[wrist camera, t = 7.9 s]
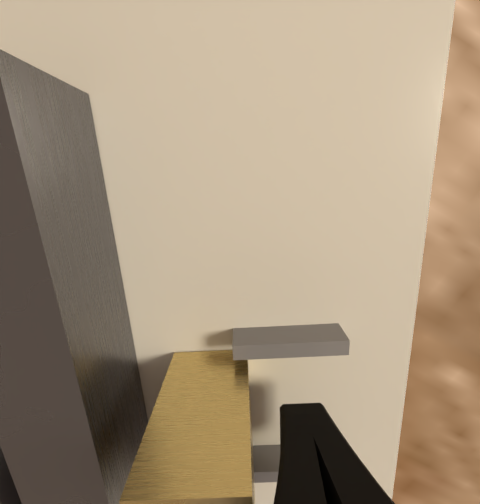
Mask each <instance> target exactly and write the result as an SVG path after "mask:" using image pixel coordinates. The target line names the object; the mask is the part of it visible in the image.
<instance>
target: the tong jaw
mask: <svg viewBox="0 0 480 504" xmlns="http://www.w3.org/2000/svg"><path fill="white" fill-rule="evenodd" d="M147 425H148V418H147V413H146V407H145V402H144V396H143V391H142V385H141V380H140V374H139V369H138V363H137V358H136V352H135V347H134V341H133V336H132V330H131V324H130V319H129V313H128V308H127V302H126V297H125V291H124V286H123V280H122V275H121V269H120V264H119V258H118V253H117V247H116V242H115V236H114V231H113V225H112V220H111V214H110V209H109V203H108V198H107V192H106V187H105V181H104V175H103V170H102V164H101V159H100V153H99V148H98V142H97V137H96V131H95V126H94V120H93V115H92V109H91V104H90V98H89V94H88V93H86V92H84V91H82V90H80V89H78V88H76V87H74V86H72V85H70V84H68V83H66V82H64V81H62V80H60V79H58V78H56V77H54V76H52V75H50V74H48V73H46V72H44V71H42V70H40V69H38V68H36V67H34V66H32V65H30V64H28V63H26V62H24V61H23V60H21V59H19V58H17V57H15V56H13V55H11V54H9V53H7V52H5V51H3V50H1V49H0V447H1V449H2V452H3V455H4V458H5V460H6V463H7V466H8V468H9V471H10V474H11V476H12V479H13V482H14V484H15V487H16V490H17V492H18V495H19V498H20V500H21V503H22V504H120V503H119V500H120V498H121V495H122V492H123V490H124V487H125V484H126V481H127V479H128V476H129V473H130V471H131V468H132V465H133V463H134V460H135V457H136V454H137V452H138V449H139V446H140V444H141V441H142V438H143V436H144V433H145V430H146V427H147Z"/></svg>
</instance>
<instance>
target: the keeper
mask: <svg viewBox="0 0 480 504" xmlns="http://www.w3.org/2000/svg"><path fill="white" fill-rule="evenodd" d="M119 503H120V504H255V486H254V463H253V439H252V422H251V405H250V387H249V370H248V360H233V350H221V351H200V352H178V353H174V354H173V357H172V360H171V363H170V365H169V368H168V371H167V373H166V376H165V379H164V381H163V384H162V387H161V390H160V392H159V395H158V398H157V400H156V403H155V406H154V408H153V411H152V414H151V417H150V419H149V422H148V425H147V427H146V430H145V433H144V436H143V438H142V441H141V444H140V446H139V449H138V452H137V454H136V457H135V460H134V463H133V465H132V468H131V471H130V473H129V476H128V479H127V481H126V484H125V487H124V490H123V492H122V495H121V498H120V500H119Z"/></svg>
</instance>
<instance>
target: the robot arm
mask: <svg viewBox="0 0 480 504" xmlns="http://www.w3.org/2000/svg"><path fill="white" fill-rule="evenodd" d="M274 504H395V503H394V502H393V501H392V500H391V498H390V497H389V496H388V495H387V494H386V492H385V491H384V490H383V488H382V487H381V486H380V485H379V483H378V482H377V481H376V480H375V478H374V477H373V476H372V474H371V473H370V472H369V470H368V469H367V468H366V466H365V465H364V464H363V462H362V461H361V460H360V458H359V457H358V456H357V454H356V453H355V452H354V450H353V449H352V447H351V446H350V445H349V443H348V442H347V440H346V439H345V438H344V436H343V435H342V433H341V432H340V430H339V429H338V427H337V426H336V424H335V423H334V421H333V420H332V418H331V417H330V415H329V413H328V412H327V410H326V409H325V407H324V405H322V404H321V403H298V404H283V405H282V406H280V462H279V471H278V479H277V486H276V492H275V498H274Z"/></svg>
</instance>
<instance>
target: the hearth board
mask: <svg viewBox="0 0 480 504" xmlns="http://www.w3.org/2000/svg"><path fill="white" fill-rule="evenodd" d="M454 8H455V0H0V49H1V50H3V51H5V52H7V53H9V54H11V55H13V56H15V57H17V58H19V59H21V60H23V61H24V62H26V63H28V64H30V65H32V66H34V67H36V68H38V69H40V70H42V71H44V72H46V73H48V74H50V75H52V76H54V77H56V78H58V79H60V80H62V81H64V82H66V83H68V84H70V85H72V86H74V87H76V88H78V89H80V90H82V91H84V92H86V93H88V94H89V98H90V104H91V109H92V115H93V120H94V126H95V131H96V137H97V142H98V148H99V153H100V159H101V164H102V170H103V175H104V181H105V187H106V192H107V198H108V203H109V209H110V214H111V220H112V225H113V231H114V236H115V242H116V247H117V253H118V258H119V264H120V269H121V275H122V280H123V286H124V291H125V297H126V302H127V308H128V313H129V319H130V324H131V330H132V336H133V341H134V347H135V352H136V358H137V363H138V369H139V374H140V380H141V385H142V391H143V396H144V402H145V407H146V413H147V418H148V422H149V419H150V417H151V414H152V411H153V408H154V406H155V403H156V400H157V398H158V395H159V392H160V390H161V387H162V384H163V381H164V379H165V376H166V373H167V371H168V368H169V365H170V363H171V360H172V357H173V354H174V353H178V352H200V351H221V350H233V360H248V370H249V387H250V405H251V422H252V439H253V463H254V486H255V504H274V498H275V492H276V486H277V479H278V471H279V462H280V406H282V405H283V404H298V403H321V404H322V405H324V407H325V409H326V410H327V412H328V413H329V415H330V417H331V418H332V420H333V421H334V423H335V424H336V426H337V427H338V429H339V430H340V432H341V433H342V435H343V436H344V438H345V439H346V440H347V442H348V443H349V445H350V446H351V447H352V449H353V450H354V452H355V453H356V454H357V456H358V457H359V458H360V460H361V461H362V462H363V464H364V465H365V466H366V468H367V469H368V470H369V472H370V473H371V474H372V476H373V477H374V478H375V480H376V481H377V482H378V483H379V485H380V486H381V487H382V488H383V490H384V491H385V492H386V494H387V495H388V496H389V497H390V498H391V500H392V495H393V487H394V479H395V472H396V464H397V456H398V448H399V440H400V432H401V424H402V417H403V409H404V401H405V393H406V385H407V377H408V369H409V362H410V354H411V346H412V338H413V330H414V322H415V315H416V307H417V299H418V291H419V283H420V275H421V267H422V260H423V252H424V244H425V236H426V228H427V220H428V212H429V205H430V197H431V189H432V181H433V173H434V165H435V157H436V150H437V142H438V134H439V126H440V118H441V110H442V103H443V95H444V87H445V79H446V71H447V63H448V55H449V48H450V40H451V32H452V24H453V16H454ZM0 504H22V503H21V500H20V498H19V495H18V492H17V490H16V487H15V484H14V482H13V479H12V476H11V474H10V471H9V468H8V466H7V463H6V460H5V458H4V455H3V452H2V449H1V447H0Z"/></svg>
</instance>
